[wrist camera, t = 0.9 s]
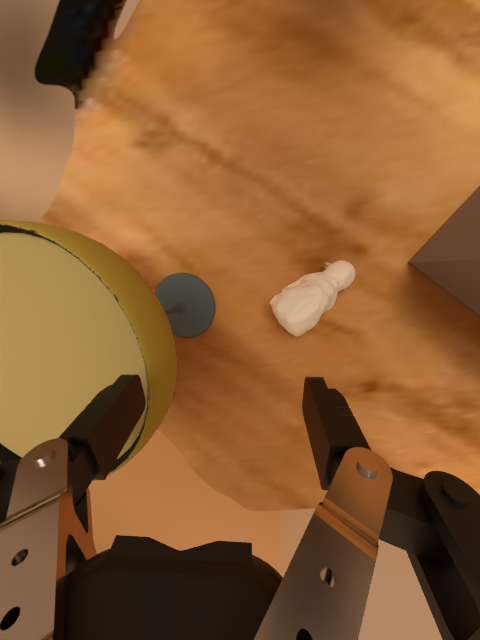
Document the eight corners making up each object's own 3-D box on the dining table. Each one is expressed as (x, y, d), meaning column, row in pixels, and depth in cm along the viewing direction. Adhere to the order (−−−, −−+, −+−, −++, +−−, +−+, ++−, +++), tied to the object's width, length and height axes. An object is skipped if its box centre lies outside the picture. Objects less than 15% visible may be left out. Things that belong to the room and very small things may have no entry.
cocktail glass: (117, 312, 41) (-115, 376, 17) (170, 225, 36) (-55, 141, 12) (196, 376, 41) (75, 529, 17) (260, 298, 36) (216, 362, 12)
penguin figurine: (264, 305, 27) (353, 239, 25) (264, 300, 36) (330, 249, 34) (296, 347, 28) (386, 285, 26) (288, 332, 36) (355, 284, 34)
